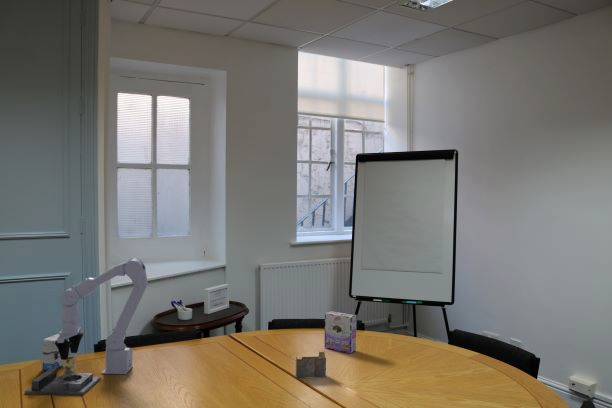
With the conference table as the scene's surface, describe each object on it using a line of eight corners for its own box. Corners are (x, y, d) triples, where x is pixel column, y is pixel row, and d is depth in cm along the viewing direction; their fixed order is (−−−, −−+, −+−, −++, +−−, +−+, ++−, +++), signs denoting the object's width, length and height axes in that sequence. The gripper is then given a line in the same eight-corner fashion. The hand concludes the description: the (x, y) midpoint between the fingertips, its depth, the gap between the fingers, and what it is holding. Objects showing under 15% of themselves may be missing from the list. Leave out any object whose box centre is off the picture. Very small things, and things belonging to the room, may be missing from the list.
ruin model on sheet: (324, 375, 188) (324, 350, 188) (325, 378, 185) (326, 353, 185) (295, 376, 186) (296, 351, 186) (296, 379, 183) (297, 354, 183)
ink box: (52, 371, 185) (53, 340, 185) (41, 369, 186) (42, 339, 186) (68, 363, 193) (68, 334, 193) (57, 362, 194) (57, 333, 194)
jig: (100, 379, 178) (100, 368, 178) (83, 395, 164) (83, 383, 164) (46, 378, 178) (46, 367, 178) (24, 394, 164) (24, 382, 164)
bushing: (77, 371, 185) (78, 356, 185) (72, 375, 181) (72, 359, 180) (66, 371, 185) (66, 355, 185) (60, 375, 181) (60, 359, 180)
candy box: (356, 350, 217) (357, 314, 217) (350, 354, 212) (351, 317, 212) (330, 345, 225) (330, 310, 224) (323, 348, 220) (324, 312, 219)
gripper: (68, 315, 190) (68, 349, 190) (49, 325, 175) (48, 362, 175) (86, 315, 190) (85, 350, 190) (68, 325, 175) (68, 362, 175)
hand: (69, 356), depth 183 cm, fingers open, 7 cm apart
